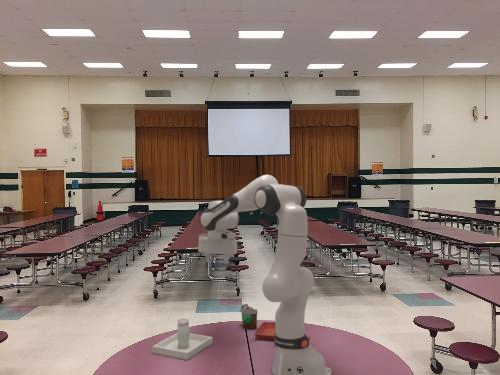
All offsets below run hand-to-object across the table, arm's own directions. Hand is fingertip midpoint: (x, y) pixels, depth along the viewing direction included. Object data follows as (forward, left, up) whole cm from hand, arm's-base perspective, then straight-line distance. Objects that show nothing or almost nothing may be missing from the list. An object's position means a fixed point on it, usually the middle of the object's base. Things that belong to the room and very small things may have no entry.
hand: (217, 262), depth 206 cm
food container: (-8, -14, -34) cm, 38 cm away
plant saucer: (-26, -10, -35) cm, 45 cm away
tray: (+5, +22, -34) cm, 41 cm away
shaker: (+5, +22, -34) cm, 40 cm away
